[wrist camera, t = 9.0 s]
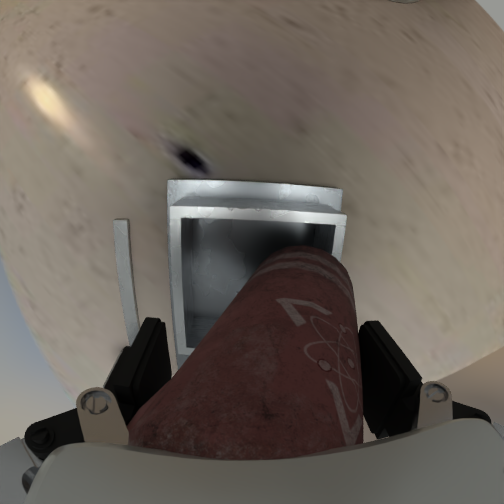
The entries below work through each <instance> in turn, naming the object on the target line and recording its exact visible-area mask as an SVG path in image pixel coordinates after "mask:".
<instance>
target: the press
mask: <svg viewBox="0 0 504 504" xmlns="http://www.w3.org/2000/svg"><path fill="white" fill-rule="evenodd" d="M342 194H343V189H340V188H334V187H325V186H314V185H303V184H291V183H277V182H262V181H243V180H215V179H169V180H168V183H167V225H168V259H169V279H170V294H171V308H172V319H173V330H174V340H175V349H176V357H177V365H178V370H179V369H180V367H181V366H182V365H183V363H184V362H185V361H186V360H187V358H188V357H189V356H190V355H191V353H192V352H193V351H194V349H195V348H196V347H197V346H198V344H199V343H200V342H201V340H202V339H203V338H204V337H205V335H206V334H207V333H208V331H209V330H210V329H211V328H212V326H213V325H214V324H215V322H216V321H217V320H218V319H219V317H220V316H221V315H222V313H223V312H224V311H225V309H226V308H227V307H228V306H229V304H230V303H231V302H232V300H233V299H234V298H235V296H236V295H237V294H238V293H239V291H240V290H241V289H242V287H243V286H244V285H245V283H246V282H247V281H248V280H249V278H250V277H251V276H252V274H253V273H254V272H255V270H256V269H257V268H258V266H259V265H260V264H261V263H262V262H263V261H264V260H265V259H266V258H267V257H268V256H270V255H271V254H272V253H274V252H276V251H278V250H281V249H283V248H285V247H289V246H300V245H306V246H310V247H315V248H319V249H322V250H324V251H325V252H327V253H329V254H331V255H332V256H334V257H336V258H337V260H338V261H339V262H340V261H341V255H342V248H343V242H344V234H345V227H346V219H347V215H346V214H344V213H342V212H341V203H342ZM113 228H114V242H115V253H116V263H117V272H118V280H119V287H120V294H121V301H122V307H123V313H124V319H125V325H126V330H127V335H128V340H129V345H130V347H131V345H132V343H133V341H134V339H135V337H136V335H137V334H138V332H139V330H140V325H139V318H138V312H137V305H136V297H135V289H134V280H133V270H132V260H131V247H130V231H129V219H115V220H113Z"/></svg>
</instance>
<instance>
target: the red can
mask: <svg viewBox="0 0 504 504" xmlns="http://www.w3.org/2000/svg"><path fill="white" fill-rule="evenodd" d="M127 429H128V431H129V438H128V445H130V446H137V447H144V448H151V449H157V450H165V451H170V452H174V453H180V454H186V455H192V456H198V457H205V458H213V459H224V460H275V459H285V458H294V457H300V456H304V455H309V454H314V453H318V452H322V451H327V450H329V449H334V448H340V447H346V446H352V445H357V444H362V443H363V393H362V373H361V359H360V346H359V336H358V326H357V317H356V308H355V300H354V293H353V286H352V282H351V280H350V277H349V275H348V272H347V270H346V269H345V268H344V266H343V265H342V264H341V263H340V262H339V261H338V260H337V258H336V257H334V256H332V255H331V254H329V253H327V252H325V251H324V250H322V249H319V248H315V247H310V246H306V245H300V246H289V247H285V248H283V249H281V250H278V251H276V252H274V253H272V254H271V255H270V256H268V257H267V258H266V259H265V260H264V261H263V262H262V263H261V264H260V265H259V266H258V268H257V269H256V270H255V272H254V273H253V274H252V276H251V277H250V278H249V280H248V281H247V282H246V283H245V285H244V286H243V287H242V289H241V290H240V291H239V293H238V294H237V295H236V296H235V298H234V299H233V300H232V302H231V303H230V304H229V306H228V307H227V308H226V309H225V311H224V312H223V313H222V315H221V316H220V317H219V319H218V320H217V321H216V322H215V324H214V325H213V326H212V328H211V329H210V330H209V331H208V333H207V334H206V335H205V337H204V338H203V339H202V340H201V342H200V343H199V344H198V346H197V347H196V348H195V349H194V351H193V352H192V353H191V355H190V356H189V357H188V358H187V360H186V361H185V362H184V363H183V365H182V366H181V367H180V369H179V370H178V371H177V372H176V374H175V375H174V376H173V377H172V379H171V380H170V381H168V382H167V383H166V384H165V385H164V386H163V387H162V388H161V389H160V390H159V391H158V392H157V393H156V394H155V395H154V396H152V397H151V398H150V399H149V400H148V401H147V402H146V403H145V404H144V405H143V406H142V407H141V408H140V409H139V410H138V411H137V413H136V414H135V416H134V417H133V418H132V420H131V421H130V422H129V424H128V425H127Z"/></svg>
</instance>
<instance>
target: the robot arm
mask: <svg viewBox="0 0 504 504" xmlns="http://www.w3.org/2000/svg"><path fill="white" fill-rule="evenodd" d="M390 1H394V2H400V3H414V2H417V1H420V0H390ZM358 336H359V346H360V359H361V373H362V393H363V415H364V417H365V420H366V422H367V424H368V426H369V428H370V431H371V433H375V436H376V438H377V439H380V440H375V441H371V442H367V443H362V444H357V445H352V446H346V447H340V448H334V449H329V450H327V451H322V452H318V453H314V454H309V455H304V456H300V457H294V458H285V459H275V460H224V459H213V458H205V457H198V456H192V455H186V454H180V453H174V452H170V451H165V450H157V449H151V448H144V447H137V446H130V445H128V438H129V431H128V429H127V425H128V424H129V422H130V421H131V420H132V418H133V417H134V416H135V414H136V413H137V411H138V410H139V409H140V408H141V407H142V406H143V405H144V404H145V403H146V402H147V401H148V400H149V399H150V398H151V397H152V396H154V395H155V394H156V393H157V392H158V391H159V390H160V389H161V388H162V387H163V386H164V385H165V384H166V383H167V382H168V381H170V380H171V377H172V371H171V364H170V357H169V350H168V342H167V334H166V326H165V322H161V320H160V318H150V317H146V318H145V320H144V322H143V324H142V326H141V328H140V330H139V332H138V334H137V335H136V337H135V339H134V341H133V343H132V345H131V347H130V346H126V347H125V348H124V349H123V351H122V353H121V355H120V357H119V359H118V360H117V362H116V364H115V366H114V368H113V370H112V372H111V374H110V376H109V378H108V380H107V382H106V384H105V386H104V388H100V387H95V388H90V389H87V390H85V391H83V392H82V393H81V394H80V395H79V396H78V398H77V401H76V407H77V408H75V409H72V410H70V411H67V412H64V413H61V414H59V415H56V416H53V417H50V418H47V419H44V420H41V421H38V422H35V423H34V424H31V426H29V427H28V428H27V430H26V432H25V436H24V438H23V439H20V438H19V437H17V438H15V439H13V440H11V441H9V442H7V443H5V444H3V445H1V446H0V504H504V426H502V425H500V424H498V423H495V422H494V423H493V424H491V419H490V417H489V416H488V415H487V414H486V413H485V412H483V411H481V410H479V409H476V408H473V407H469V406H466V405H463V404H460V403H457V402H454V401H452V395H451V391H450V390H449V388H448V387H447V386H445V385H444V384H442V383H440V382H437V381H429V382H426V383H424V384H423V383H422V382H421V380H422V377H421V376H420V374H419V373H418V372H417V370H416V369H415V367H414V366H413V365H412V363H411V362H410V361H409V359H408V358H407V357H406V355H405V354H404V353H403V352H402V350H401V349H400V348H399V346H398V345H397V344H396V342H395V341H394V340H393V339H392V337H391V336H390V335H389V333H388V332H387V331H386V330H385V328H384V327H383V326H382V324H381V323H380V322H379V321H366V322H365V323H364V325H361V326H360V329H359V333H358ZM388 436H389V437H388ZM385 437H388V438H385ZM381 438H384V439H381Z"/></svg>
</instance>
